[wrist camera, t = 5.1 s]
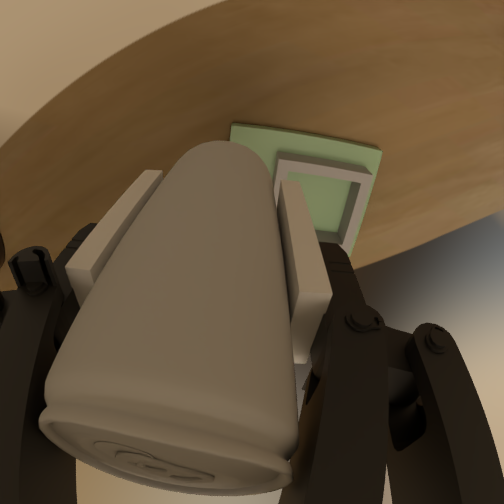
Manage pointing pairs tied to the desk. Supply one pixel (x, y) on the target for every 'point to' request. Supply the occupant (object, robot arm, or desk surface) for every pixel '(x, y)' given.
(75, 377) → the beverage can
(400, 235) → the desk surface
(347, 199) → the green tray with frame
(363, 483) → the robot arm
